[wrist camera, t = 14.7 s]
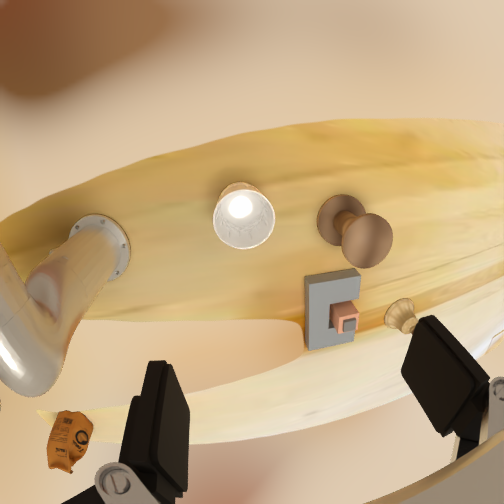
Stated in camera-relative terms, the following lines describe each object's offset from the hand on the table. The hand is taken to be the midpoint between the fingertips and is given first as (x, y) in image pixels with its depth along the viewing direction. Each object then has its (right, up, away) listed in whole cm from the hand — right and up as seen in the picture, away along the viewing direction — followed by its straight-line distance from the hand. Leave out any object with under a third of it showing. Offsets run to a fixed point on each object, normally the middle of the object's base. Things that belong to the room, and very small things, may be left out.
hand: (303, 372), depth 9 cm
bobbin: (+14, +10, +38) cm, 42 cm away
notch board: (+14, -7, +45) cm, 48 cm away
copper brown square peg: (+15, -7, +45) cm, 48 cm away
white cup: (-4, +12, +36) cm, 38 cm away
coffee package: (-59, -50, +57) cm, 96 cm away
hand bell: (+32, -10, +49) cm, 59 cm away
